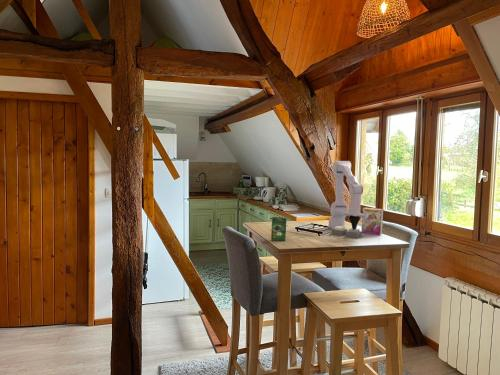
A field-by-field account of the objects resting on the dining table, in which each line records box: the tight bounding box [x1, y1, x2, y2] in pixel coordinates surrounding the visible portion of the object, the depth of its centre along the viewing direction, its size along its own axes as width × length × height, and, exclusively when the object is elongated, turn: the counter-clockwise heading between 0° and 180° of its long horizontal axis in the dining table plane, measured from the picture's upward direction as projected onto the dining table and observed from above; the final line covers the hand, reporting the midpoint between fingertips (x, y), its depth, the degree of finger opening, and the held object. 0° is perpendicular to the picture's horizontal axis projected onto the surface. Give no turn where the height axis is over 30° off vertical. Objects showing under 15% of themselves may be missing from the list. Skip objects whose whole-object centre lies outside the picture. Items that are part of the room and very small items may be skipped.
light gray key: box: [348, 227, 361, 233], centre depth 223 cm, size 4×4×3 cm
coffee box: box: [270, 216, 287, 242], centre depth 217 cm, size 8×3×13 cm, turn 88°
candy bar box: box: [361, 207, 384, 236], centre depth 233 cm, size 11×5×16 cm, turn 59°
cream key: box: [334, 226, 346, 231], centre depth 229 cm, size 4×4×3 cm
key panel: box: [329, 228, 365, 240], centre depth 226 cm, size 18×9×4 cm, turn 51°
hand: (354, 229), depth 223 cm, fingers closed, pressing on light gray key
